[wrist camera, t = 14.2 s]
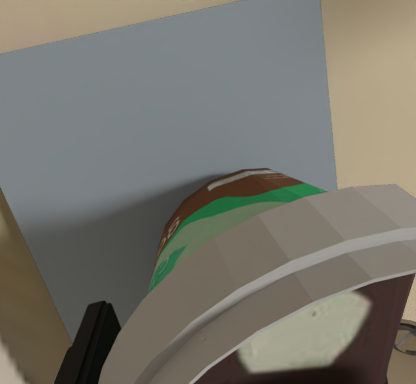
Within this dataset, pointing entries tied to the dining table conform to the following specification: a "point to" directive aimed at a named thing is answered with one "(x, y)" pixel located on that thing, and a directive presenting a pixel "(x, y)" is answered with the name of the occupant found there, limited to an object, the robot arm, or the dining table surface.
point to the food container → (273, 286)
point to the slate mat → (153, 135)
